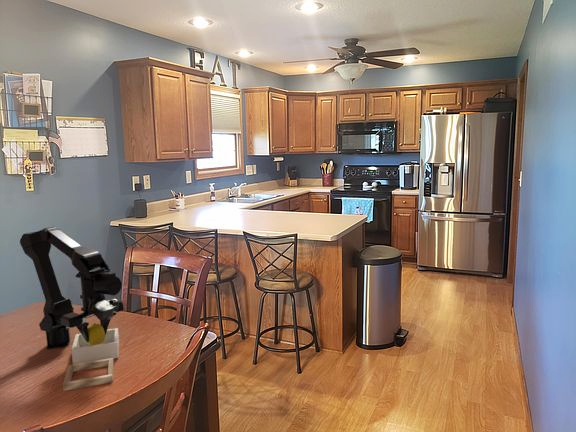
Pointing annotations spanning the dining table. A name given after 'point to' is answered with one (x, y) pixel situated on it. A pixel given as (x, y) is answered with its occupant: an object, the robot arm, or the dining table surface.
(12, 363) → the dining table surface
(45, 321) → the robot arm
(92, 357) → the bin
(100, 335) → the lemon
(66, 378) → the rectangular frame
